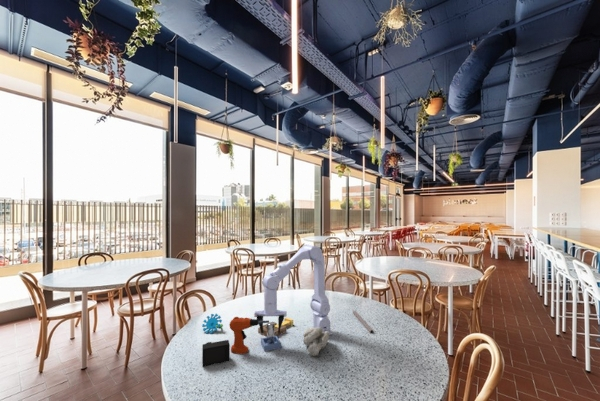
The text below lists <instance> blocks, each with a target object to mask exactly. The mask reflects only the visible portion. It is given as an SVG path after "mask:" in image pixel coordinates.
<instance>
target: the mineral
mask: <svg viewBox="0 0 600 401" xmlns="http://www.w3.org/2000/svg"><path fill="white" fill-rule="evenodd" d="M329 338H330V333H329V332H328V331H325V332H323V331H322V328H320V327H317V328H316V327H312V329H311V328H310V327H308V328H306V330H305V331H304V332H303V340H302V341H303V344H304V345H305V346H308V347H307V352H308V353H309V355H310V356H314V357H316V356H318V355H319V353H320V350H323V349H325V348H326V345H327V344H328V342H329Z"/></svg>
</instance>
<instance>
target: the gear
mask: <svg viewBox="0 0 600 401" xmlns="http://www.w3.org/2000/svg"><path fill="white" fill-rule="evenodd" d="M206 318H207V320H206V319H204V320H203V323H202V325H201V326H202V331H203V332H205V333H206V334H209V333H210V334H214V331H215V332H217V331H218V329H219V330H223V327H224V325H223V324H222V321H223V320H222V319H221V318H222V317H221V315H219V314H218V313H215V314H214V313H211V314H210V315H207V316H206Z"/></svg>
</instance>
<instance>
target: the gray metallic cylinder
mask: <svg viewBox="0 0 600 401" xmlns="http://www.w3.org/2000/svg"><path fill="white" fill-rule="evenodd" d="M273 322H274V321H272V322H271V321H269V323H266V324H267V336H266V337H267V344H273V343H275V323H276V322H275V323H273Z"/></svg>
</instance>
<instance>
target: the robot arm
mask: <svg viewBox="0 0 600 401" xmlns="http://www.w3.org/2000/svg"><path fill="white" fill-rule="evenodd" d="M303 260H310V261H311V262H312V263H313V282H314V284H313V286H314V287H313V291H314V292H313V293H314V294H312V296H311V301H310V308H311V310H312V317H313V318H312V321H313V322H312V323H313V324H312V325H313V327H316V328H317V327H320V328H322V331H323V332H325V331H328V332H329V333H330V335H331V336H332V335H333V332H331V320H330V319H329V317H328V316H329V313H330V311H331V304H330V301H329V297H327V295H326V281H325V280H326V277H325V276H326V273H325V272H326V271H325V269H326V268H325V266H326V265H325V264H326V262H325V261H326V260H325V257H324V255H323V249H321V248H320V247H319V246H317V245H315V246H314V245H310V244H304V245H302V247H299V249H298V250H297V252H296V253H295V254H294V255H293V256H291V258H290V259H289V260H288V261H286V263H281V264H278V265H277V267H276V268H274V270H273V271H271V272H269V274H266V275H264V277H263V279H262V280H261V284H262V286H263V288H264V290H263V292H264V293H263V296H264V297H263V309H264V310H256V311H255V310H254V314H253V315H254V318H256V319H257V320H259V321H264V317H278V318H277V322H278V323H277V324H278V333H280V328H281V325H282V322H284V318H286V317H287V315H288V314H287V310H279V309H278V303H277V302H278V293H277V292H278V291H277V290H278V289H277V288H278V287H279V285H280V283H281V282H282V281H283V280H284V279H285V278H286V277H287V276H288V275H289V274H290V272H291V271H290V270H291V269H293V268H294V267H295V266H297V265H298V264H299V263H300V262H301V261H303ZM263 326H264V323H261V324H260V323H259V324H258V327H260V329H261V334H260V335H262V334H263ZM313 327H312V328H313ZM312 328H310V329H312ZM330 335H329V336H330Z"/></svg>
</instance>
